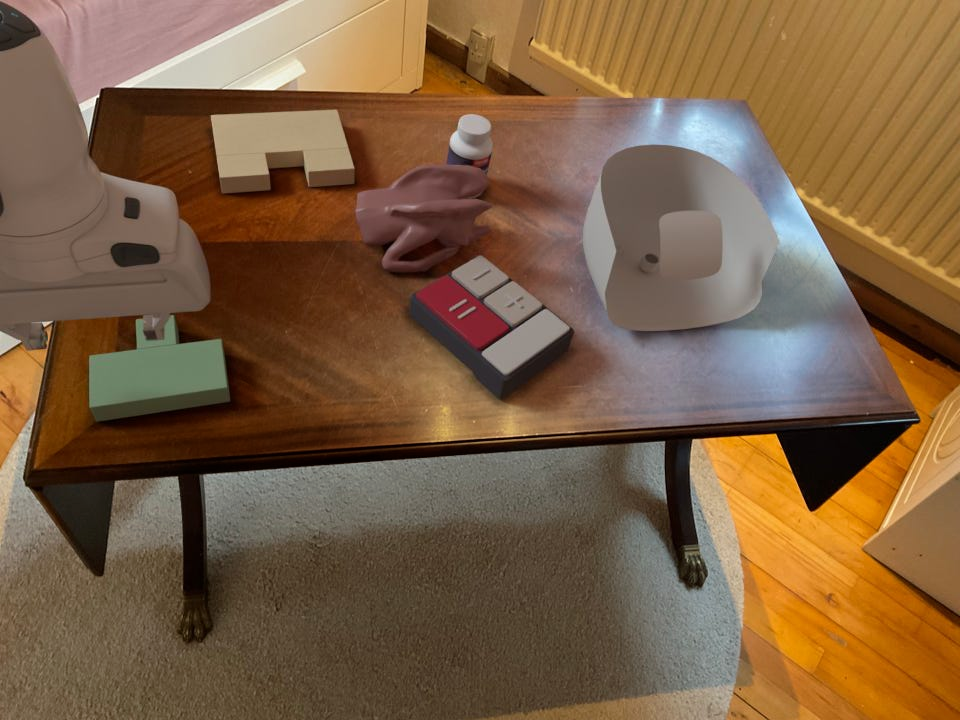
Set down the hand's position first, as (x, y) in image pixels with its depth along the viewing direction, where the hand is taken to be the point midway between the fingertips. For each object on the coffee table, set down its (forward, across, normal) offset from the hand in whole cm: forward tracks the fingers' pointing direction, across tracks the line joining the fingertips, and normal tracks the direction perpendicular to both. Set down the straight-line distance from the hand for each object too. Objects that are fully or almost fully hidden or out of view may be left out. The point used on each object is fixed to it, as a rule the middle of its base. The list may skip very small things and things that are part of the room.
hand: (98, 339), depth 65 cm
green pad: (+8, +4, +2) cm, 9 cm away
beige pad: (+8, +18, +34) cm, 39 cm away
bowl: (+9, +60, +11) cm, 62 cm away
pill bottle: (+9, +40, +28) cm, 49 cm away
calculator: (+9, +38, +3) cm, 39 cm away
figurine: (+9, +33, +18) cm, 38 cm away
